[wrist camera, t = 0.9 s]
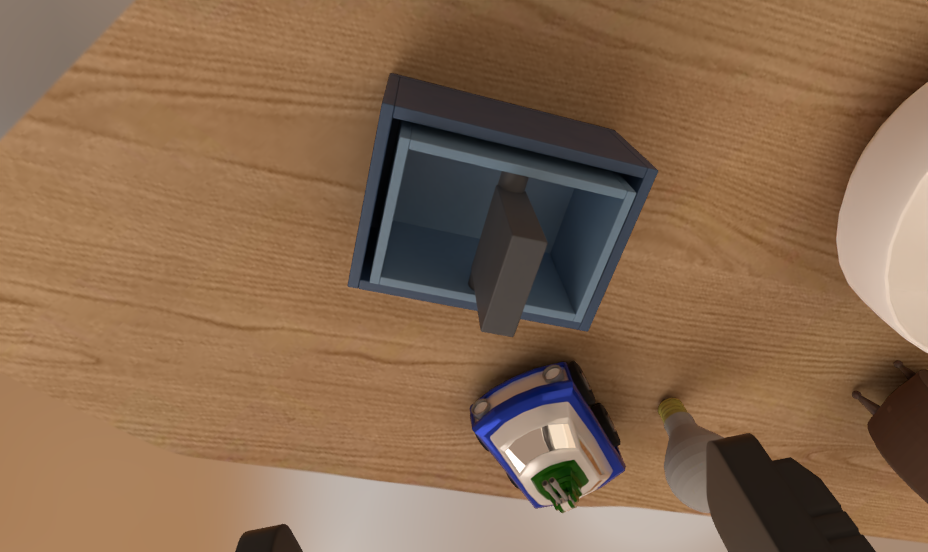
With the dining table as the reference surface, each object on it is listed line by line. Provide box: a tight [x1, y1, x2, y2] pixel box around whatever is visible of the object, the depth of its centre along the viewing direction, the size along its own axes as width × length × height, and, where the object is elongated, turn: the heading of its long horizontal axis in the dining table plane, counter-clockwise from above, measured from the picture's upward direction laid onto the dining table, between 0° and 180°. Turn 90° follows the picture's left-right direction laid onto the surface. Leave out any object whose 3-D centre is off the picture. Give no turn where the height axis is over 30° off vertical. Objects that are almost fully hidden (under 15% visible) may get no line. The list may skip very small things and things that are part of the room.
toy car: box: [470, 361, 626, 513], centre depth 43 cm, size 9×12×10 cm
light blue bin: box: [370, 120, 636, 337], centre depth 31 cm, size 12×8×13 cm, turn 75°
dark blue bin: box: [348, 73, 658, 331], centre depth 34 cm, size 14×10×8 cm
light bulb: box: [658, 398, 723, 513], centre depth 43 cm, size 6×6×10 cm
